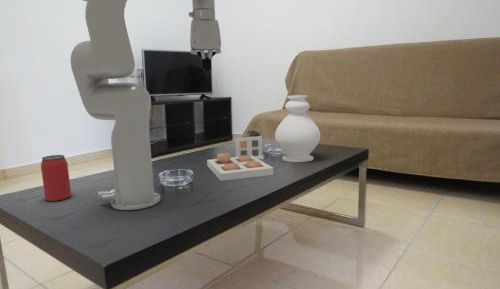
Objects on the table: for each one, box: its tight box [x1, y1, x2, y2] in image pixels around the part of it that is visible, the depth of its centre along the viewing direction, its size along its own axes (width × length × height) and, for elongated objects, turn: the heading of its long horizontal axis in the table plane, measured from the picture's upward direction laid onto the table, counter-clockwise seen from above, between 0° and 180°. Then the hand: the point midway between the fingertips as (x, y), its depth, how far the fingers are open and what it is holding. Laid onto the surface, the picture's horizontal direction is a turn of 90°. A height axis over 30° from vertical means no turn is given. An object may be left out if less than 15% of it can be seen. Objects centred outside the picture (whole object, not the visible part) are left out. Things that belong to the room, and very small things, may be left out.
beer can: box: [40, 154, 72, 202], centre depth 100 cm, size 7×7×12 cm
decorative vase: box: [274, 94, 321, 163], centre depth 140 cm, size 18×18×25 cm
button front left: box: [224, 163, 238, 171], centre depth 120 cm, size 5×5×3 cm
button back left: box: [216, 152, 231, 164], centre depth 129 cm, size 5×5×3 cm
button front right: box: [246, 161, 260, 168], centre depth 123 cm, size 5×5×3 cm
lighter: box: [245, 129, 264, 155], centre depth 155 cm, size 8×3×10 cm, turn 58°
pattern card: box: [234, 135, 265, 160], centre depth 143 cm, size 11×4×9 cm, turn 108°
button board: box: [206, 156, 275, 182], centre depth 126 cm, size 18×22×2 cm
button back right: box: [238, 155, 251, 162], centre depth 132 cm, size 5×5×3 cm
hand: (206, 70), depth 125 cm, fingers closed
